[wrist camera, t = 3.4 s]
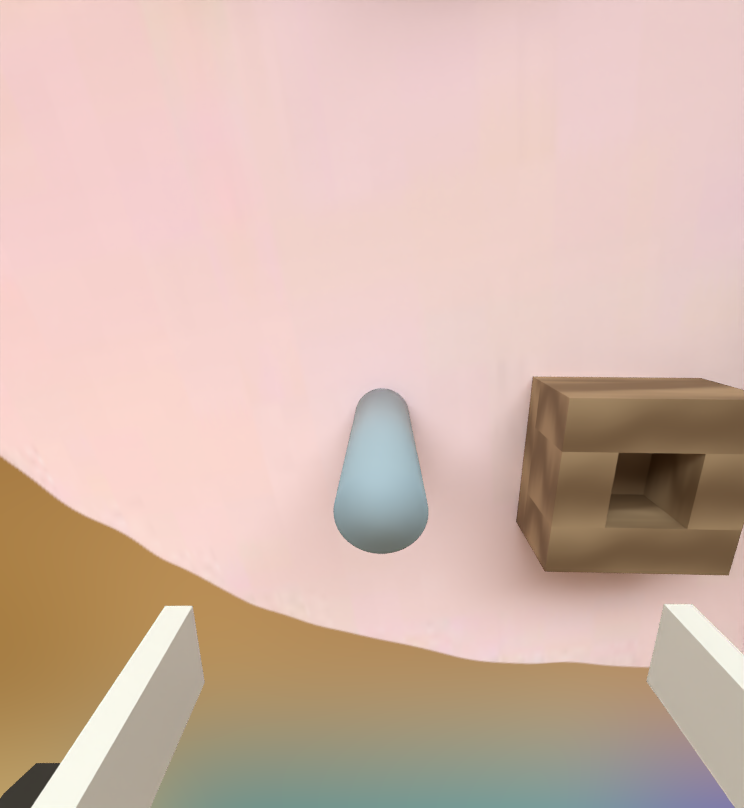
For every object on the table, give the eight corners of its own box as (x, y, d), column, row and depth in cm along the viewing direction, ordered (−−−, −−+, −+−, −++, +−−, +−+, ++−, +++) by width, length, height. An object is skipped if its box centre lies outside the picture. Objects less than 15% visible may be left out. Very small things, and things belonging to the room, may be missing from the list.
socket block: (533, 376, 29) (569, 398, 23) (700, 378, 29) (779, 400, 23) (516, 521, 33) (544, 571, 27) (666, 524, 32) (728, 575, 26)
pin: (355, 388, 30) (332, 468, 16) (409, 388, 30) (430, 470, 16) (355, 438, 31) (334, 552, 17) (407, 439, 31) (426, 554, 17)
